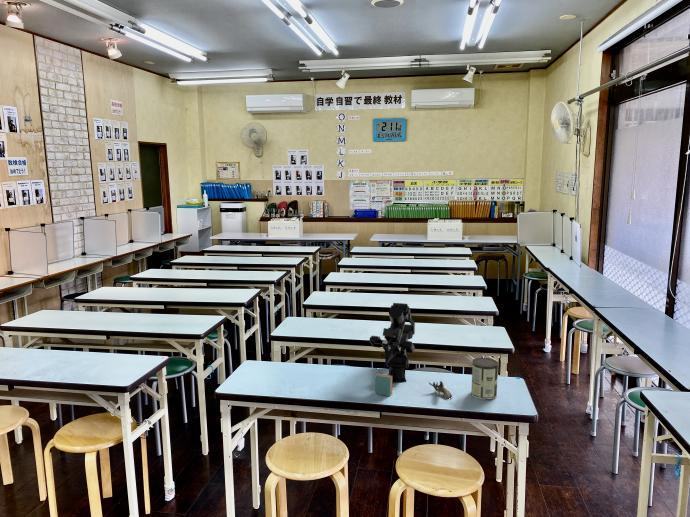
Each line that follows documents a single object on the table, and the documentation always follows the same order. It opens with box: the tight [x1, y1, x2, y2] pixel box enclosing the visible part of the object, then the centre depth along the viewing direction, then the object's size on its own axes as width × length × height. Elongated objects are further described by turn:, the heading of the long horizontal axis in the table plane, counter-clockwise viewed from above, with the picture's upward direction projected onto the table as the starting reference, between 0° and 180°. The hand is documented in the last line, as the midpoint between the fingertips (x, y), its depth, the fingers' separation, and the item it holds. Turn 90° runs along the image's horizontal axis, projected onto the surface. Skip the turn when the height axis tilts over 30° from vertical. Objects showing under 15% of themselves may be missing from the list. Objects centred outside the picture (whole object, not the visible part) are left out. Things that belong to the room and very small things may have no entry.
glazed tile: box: [374, 372, 393, 397], centre depth 209 cm, size 2×6×8 cm, turn 64°
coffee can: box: [470, 357, 499, 400], centre depth 208 cm, size 10×10×14 cm
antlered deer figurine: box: [428, 379, 453, 400], centre depth 208 cm, size 8×7×9 cm
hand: (386, 362), depth 210 cm, fingers closed
